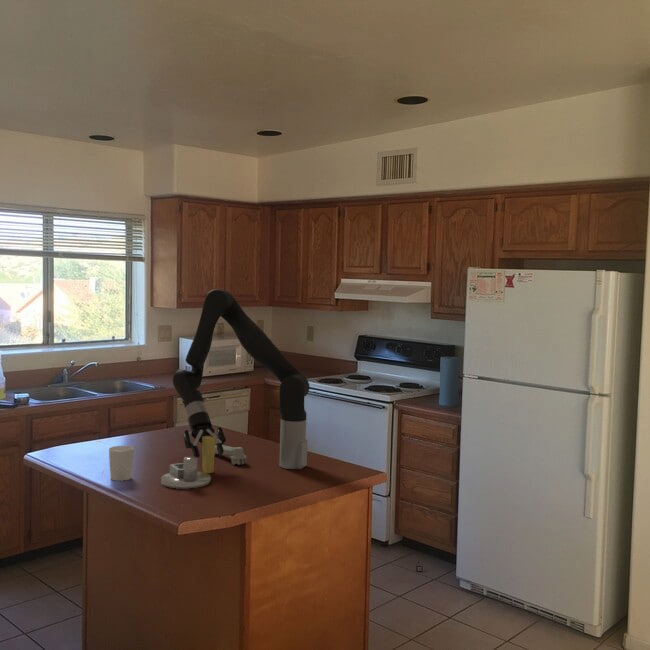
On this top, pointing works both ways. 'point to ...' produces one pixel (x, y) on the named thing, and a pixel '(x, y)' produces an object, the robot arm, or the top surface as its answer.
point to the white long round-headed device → (233, 454)
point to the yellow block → (208, 454)
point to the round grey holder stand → (185, 475)
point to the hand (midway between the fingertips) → (209, 455)
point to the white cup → (121, 462)
